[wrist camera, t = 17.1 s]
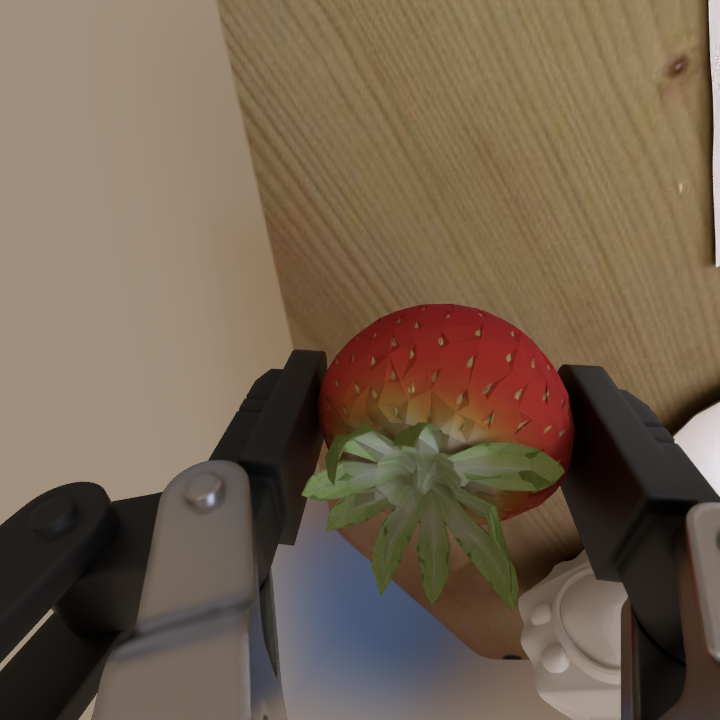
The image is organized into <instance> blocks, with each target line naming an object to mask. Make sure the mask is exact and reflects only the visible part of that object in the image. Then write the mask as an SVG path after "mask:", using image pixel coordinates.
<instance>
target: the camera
mask: <svg viewBox="0 0 720 720" xmlns="http://www.w3.org/2000/svg"><path fill="white" fill-rule="evenodd" d="M627 598H628V595H627V593H626V590H625V588H624V586H623V583H620V582H611V581H602V580H596V577H595V575H594V572H593V570H592V567H591V564H590V562H589V559H588V557H587V554H586V551H585V549H584V550H583V551H582V552H581V553H580V554H579V556H578V557H576V558H575V559H573V560H571V561H563V562H560V563H559V564H557V565H555V566H554V567H553V569H552V571H551V572H550V574H549V575H548V576H547V577H546V578H545V579H543V580H542V581H541V582H539V583H538V584H536V585H535V586H534V587H532V588H531V589H530V590H528V591H527V592H526V593H524V594H523V595H522V596H521V597H520V598H519V611H520V614H521V617H522V620H523V623H524V628H523V631H522V634H521V645H522V647H523V649H524V651H525V652H526V654H527V655H528V657H529V658H530V660H531V661H532V664H533V667H534V679H535V684H536V688H537V691H538V693H539V695H540V697H541V698H542V699H543V700H544V701H546V702H547V703H548V704H550V705H551V706H552V707H554V708H555V709H557V710H558V711H560V712H561V713H563V714H564V715H566V716H568V717H570V718H572V719H574V720H621V608H622V606H623V603H624V602H625V601H626V599H627Z"/></svg>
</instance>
